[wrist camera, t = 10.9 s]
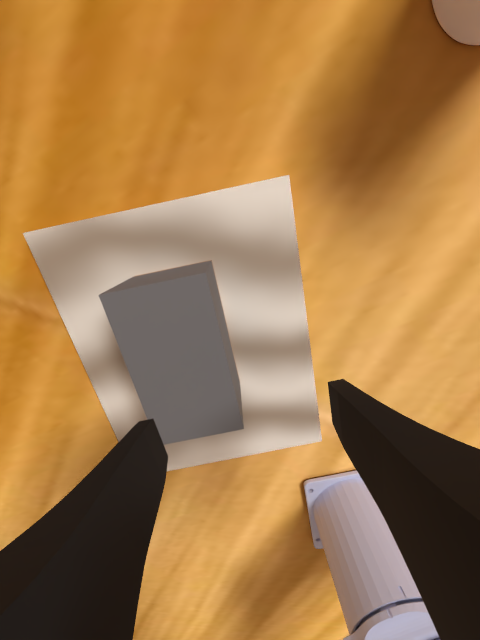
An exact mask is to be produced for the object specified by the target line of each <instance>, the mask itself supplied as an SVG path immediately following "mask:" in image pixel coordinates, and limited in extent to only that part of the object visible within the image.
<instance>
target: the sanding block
mask: <svg viewBox="0 0 480 640" xmlns="http://www.w3.org/2000/svg"><path fill="white" fill-rule="evenodd" d="M99 298H100V300H101V303H102V305H103V308H104V310H105V313H106V316H107V318H108V321H109V323H110V326H111V328H112V331H113V333H114V336H115V338H116V341H117V344H118V346H119V349H120V351H121V354H122V356H123V359H124V361H125V364H126V366H127V369H128V371H129V374H130V377H131V379H132V382H133V384H134V387H135V389H136V392H137V394H138V397H139V399H140V402H141V405H142V407H143V410H144V412H145V415H146V417H147V420H148V419H154V422H155V424H156V427H157V429H158V432H159V434H160V437H161V439H162V442H163V444H164V445H165V444H170V443H176V442H181V441H186V440H191V439H196V438H201V437H206V436H211V435H216V434H222V433H227V432H232V431H237V430H242V429H244V424H243V412H242V400H241V389H240V379H239V375H238V371H237V366H236V362H235V358H234V353H233V349H232V345H231V340H230V336H229V332H228V328H227V323H226V319H225V315H224V310H223V306H222V302H221V297H220V293H219V289H218V285H217V280H216V276H215V272H214V267H213V263H212V260H208V261H203V262H199V263H194V264H189V265H184V266H180V267H175V268H170V269H165V270H161V271H156V272H151V273H146V274H142V275H137V276H134V277H132V278H130V279H128V280H126V281H124V282H122V283H120V284H118V285H117V286H115V287H113V288H111V289H109V290H107V291H105V292H103V293H101V294H99Z"/></svg>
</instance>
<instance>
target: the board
mask: <svg viewBox="0 0 480 640" xmlns="http://www.w3.org/2000/svg"><path fill="white" fill-rule="evenodd" d="M23 234H24V237H25V239H26V241H27V243H28V245H29V247H30V250H31V252H32V254H33V256H34V258H35V260H36V263H37V265H38V267H39V269H40V271H41V274H42V276H43V278H44V280H45V282H46V284H47V287H48V289H49V291H50V293H51V295H52V298H53V300H54V302H55V304H56V306H57V308H58V311H59V313H60V315H61V317H62V319H63V322H64V324H65V326H66V328H67V330H68V332H69V335H70V337H71V339H72V341H73V343H74V346H75V348H76V350H77V352H78V354H79V356H80V359H81V361H82V363H83V365H84V367H85V370H86V372H87V374H88V376H89V378H90V380H91V383H92V385H93V387H94V389H95V391H96V394H97V396H98V398H99V400H100V402H101V404H102V407H103V409H104V411H105V413H106V415H107V418H108V420H109V422H110V424H111V426H112V428H113V431H114V433H115V435H116V437H117V439H118V442H119V441H120V440H121V439H122V438H123V437H124V436H125V435H126V434H127V433H128V432H129V431H130V430H131V429H132V428H133V427H134V426H135V425H136V424H137V423H138V422H139V421H143V420H147V417H146V415H145V412H144V410H143V407H142V405H141V402H140V399H139V397H138V394H137V392H136V389H135V387H134V384H133V382H132V379H131V377H130V374H129V371H128V369H127V366H126V364H125V361H124V359H123V356H122V354H121V351H120V349H119V346H118V344H117V341H116V338H115V336H114V333H113V331H112V328H111V326H110V323H109V321H108V318H107V316H106V313H105V310H104V308H103V305H102V303H101V300H100V298H99V294H101V293H103V292H105V291H107V290H109V289H111V288H113V287H115V286H117V285H118V284H120V283H122V282H124V281H126V280H128V279H130V278H132V277H134V276H137V275H142V274H146V273H151V272H156V271H161V270H165V269H170V268H175V267H180V266H184V265H189V264H194V263H199V262H203V261H208V260H212V263H213V267H214V272H215V276H216V280H217V285H218V289H219V293H220V297H221V302H222V306H223V310H224V315H225V319H226V323H227V328H228V332H229V336H230V340H231V345H232V349H233V353H234V358H235V362H236V366H237V371H238V375H239V379H240V389H241V400H242V412H243V424H244V429H242V430H237V431H232V432H227V433H222V434H216V435H211V436H206V437H201V438H196V439H191V440H186V441H181V442H176V443H170V444H165V445H164V447H165V449H166V452H167V454H168V463H167V471H171V470H177V469H182V468H187V467H192V466H197V465H202V464H207V463H212V462H217V461H223V460H228V459H233V458H238V457H243V456H248V455H253V454H258V453H263V452H269V451H274V450H279V449H284V448H289V447H294V446H299V445H304V444H310V443H315V442H320V441H322V437H321V429H320V421H319V413H318V405H317V397H316V389H315V381H314V373H313V365H312V356H311V348H310V340H309V332H308V324H307V316H306V308H305V300H304V292H303V284H302V276H301V268H300V259H299V251H298V243H297V235H296V227H295V219H294V211H293V203H292V195H291V187H290V179H289V175H286V176H282V177H277V178H273V179H268V180H264V181H259V182H254V183H250V184H245V185H241V186H236V187H232V188H227V189H222V190H218V191H213V192H209V193H204V194H200V195H195V196H190V197H186V198H181V199H177V200H172V201H168V202H163V203H158V204H154V205H149V206H145V207H140V208H136V209H131V210H126V211H122V212H117V213H113V214H108V215H104V216H99V217H95V218H90V219H85V220H81V221H76V222H72V223H67V224H63V225H58V226H53V227H49V228H44V229H40V230H35V231H31V232H26V233H23Z"/></svg>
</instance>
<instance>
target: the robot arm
mask: <svg viewBox="0 0 480 640" xmlns="http://www.w3.org/2000/svg"><path fill="white" fill-rule="evenodd" d="M328 388H329V396H330V405H331V413H332V422H333V425H334V427H335V430H336V432H337V434H338V437H339V439H340V441H341V443H342V445H343V447H344V449H345V451H346V453H347V454H348V456H349V458H350V460H351V461H352V463H353V465H354V467H355V468H356V471H350V472H345V473H340V474H335V475H330V476H324V477H319V478H314V479H309V480H306V481H305V482H304V490H305V496H306V502H307V508H308V514H309V520H310V526H311V532H312V538H313V544H314V547H315V548H316V549H322V548H324V551H325V555H326V558H327V561H328V565H329V568H330V571H331V575H332V578H333V581H334V585H335V588H336V591H337V595H338V598H339V601H340V604H341V608H342V611H343V614H344V618H345V621H346V624H347V628H348V631H349V634H350V635H349V636H347V637H345V638H344V639H343V640H480V449H478V448H475V447H472V446H470V445H467V444H465V443H462V442H460V441H457V440H455V439H452V438H450V437H448V436H446V435H443V434H441V433H439V432H437V431H434V430H432V429H430V428H428V427H426V426H424V425H422V424H419V423H417V422H416V421H414V420H412V419H410V418H408V417H406V416H404V415H402V414H400V413H398V412H397V411H395V410H393V409H391V408H389V407H388V406H386V405H384V404H382V403H381V402H379V401H377V400H376V399H374V398H372V397H371V396H369V395H368V394H366V393H364V392H363V391H361V390H360V389H358V388H357V387H355V386H353V385H352V384H350V383H349V382H347V381H345V380H344V379H341V380H336V381H331V382H328ZM167 463H168V454H167V452H166V449H165V447H164V444H163V442H162V439H161V437H160V434H159V432H158V429H157V427H156V424H155V422H154V419H148V420H143V421H139V422H138V423H137V424H136V425H135V426H134V427H133V428H132V429H131V430H130V431H129V432H128V433H127V434H126V435H125V436H124V437H123V438H122V439H121V440H120V441H119V443H118V444H117V445H116V446H115V447H114V448H113V449H112V450H111V451H110V452H109V453H108V454H107V455H106V456H105V458H104V459H103V460H102V461H101V462H100V463H99V464H98V465H97V466H96V467H95V468H94V469H93V470H92V471H91V472H90V473H89V474H88V475H87V476H86V477H85V478H84V479H83V480H82V481H81V482H80V483H79V484H78V485H77V486H76V487H75V488H74V489H73V490H72V491H71V492H70V493H69V494H68V495H67V496H65V497H64V498H63V499H62V500H61V501H60V502H59V503H58V504H57V505H56V506H54V507H53V508H52V509H51V510H50V511H49V512H48V513H46V514H45V515H44V516H43V517H42V518H41V519H39V520H38V521H37V522H36V523H35V524H33V525H32V526H31V527H30V528H29V529H27V530H26V531H25V532H24V533H22V534H21V535H20V536H19V537H17V538H16V539H15V540H14V541H12V542H11V543H10V544H9V545H7V546H6V547H5V548H4V549H2V550H1V551H0V640H132V639H133V632H134V626H135V619H136V613H137V606H138V600H139V594H140V588H141V582H142V576H143V570H144V565H145V560H146V556H147V551H148V547H149V543H150V539H151V535H152V532H153V528H154V524H155V520H156V516H157V512H158V508H159V505H160V501H161V497H162V493H163V489H164V484H165V479H166V472H167Z"/></svg>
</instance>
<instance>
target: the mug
mask: <svg viewBox="0 0 480 640" xmlns="http://www.w3.org/2000/svg"><path fill="white" fill-rule="evenodd" d="M432 4H433V8H434V12H435V15H436V17H437V20H438V22H439V23H440V25H441V27H442V28H443V30H444V31H445V32H446V33H447V34H448V35H449V36H450V37H451V38H453V39H454V40H456V41H458V42H460V43H463V44H467V45H480V0H432Z"/></svg>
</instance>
